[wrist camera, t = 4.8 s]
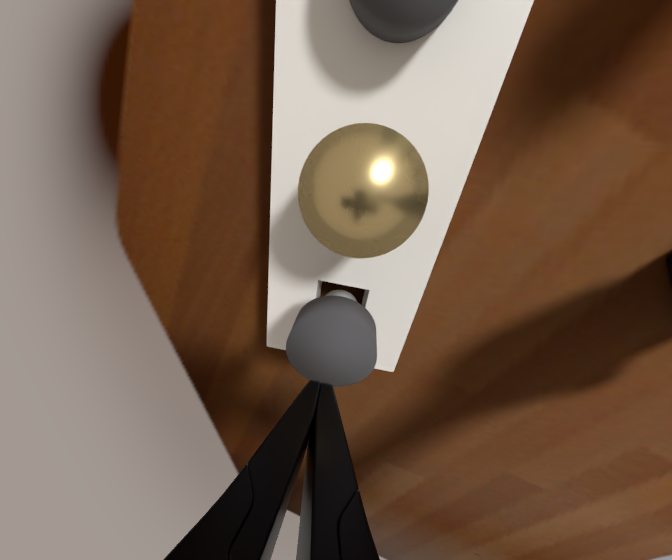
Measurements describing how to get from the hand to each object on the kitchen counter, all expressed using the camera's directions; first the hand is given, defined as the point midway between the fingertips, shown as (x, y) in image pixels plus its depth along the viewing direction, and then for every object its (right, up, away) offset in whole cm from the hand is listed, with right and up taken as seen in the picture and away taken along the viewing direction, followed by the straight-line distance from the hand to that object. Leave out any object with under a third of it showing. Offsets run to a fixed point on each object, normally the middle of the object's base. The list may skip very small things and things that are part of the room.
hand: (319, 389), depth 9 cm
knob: (+1, +2, +8) cm, 8 cm away
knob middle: (+2, +9, +4) cm, 10 cm away
